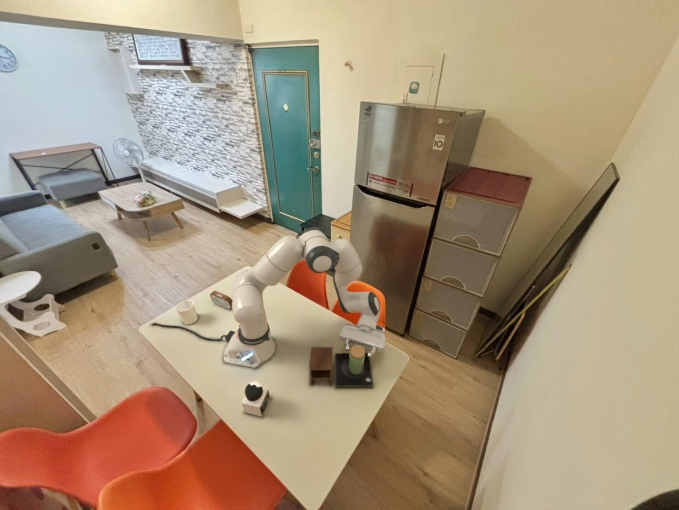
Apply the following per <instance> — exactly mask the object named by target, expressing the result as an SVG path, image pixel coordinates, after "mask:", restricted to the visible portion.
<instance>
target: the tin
mask: <svg viewBox="0 0 679 510" xmlns="http://www.w3.org/2000/svg"><path fill="white" fill-rule="evenodd" d="M209 297H210V300H211V301H212V302H213V303H214V304H216V305H217V306H219V307H222V308H224V309H227V310H232V297H230V296H229V295H226V294H225V293H222V292H220V291H217V290H213V291H212V292H211V293H210V294H209Z"/></svg>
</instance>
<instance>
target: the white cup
mask: <svg viewBox="0 0 679 510" xmlns="http://www.w3.org/2000/svg"><path fill="white" fill-rule="evenodd" d="M175 310H176V313H177V314H178V316H179V317H180V320H181V321H182V323H183V324H185V325H192V324H194V323H195V322H196V321H197V320H198V318H199V317H198V314H197V309H196V305H195V303H194V301H193V300H191V299H185V300H182V301H180V302H178V303H177V304H176V306H175Z"/></svg>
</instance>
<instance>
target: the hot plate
mask: <svg viewBox="0 0 679 510" xmlns="http://www.w3.org/2000/svg"><path fill="white" fill-rule="evenodd" d="M349 353H350V352H335V355H334V356H335V360H334V361H335V365H334V366H335V389H373V386H374V385H373V377H372V370H371V362H370V358H369V357H367V355H368V352H365V359H364V366H363V371H362V372H361V373H360V374H352V373H351V372H350V371H349V369H348V364H349Z"/></svg>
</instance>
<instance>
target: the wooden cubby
mask: <svg viewBox="0 0 679 510" xmlns="http://www.w3.org/2000/svg"><path fill="white" fill-rule="evenodd" d="M333 352H334V351H333V347H332V346H311V347H310V354H309V355H310V358H309V359H310V360H309V369H308V371H309V385H313V380H329V385H333V370H334V369H333V363H334V361H333V360H334V359H333V357H334V356H333V354H334V353H333Z"/></svg>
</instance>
